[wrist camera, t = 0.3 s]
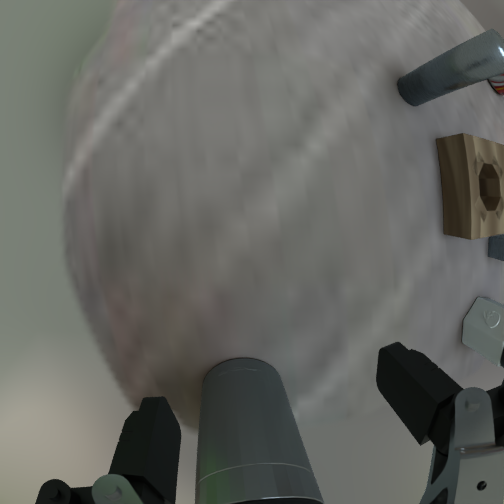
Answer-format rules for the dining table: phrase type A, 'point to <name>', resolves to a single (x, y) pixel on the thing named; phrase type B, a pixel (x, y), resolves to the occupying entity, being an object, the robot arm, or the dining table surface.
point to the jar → (485, 329)
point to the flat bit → (496, 247)
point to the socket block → (472, 186)
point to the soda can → (498, 83)
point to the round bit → (455, 69)
